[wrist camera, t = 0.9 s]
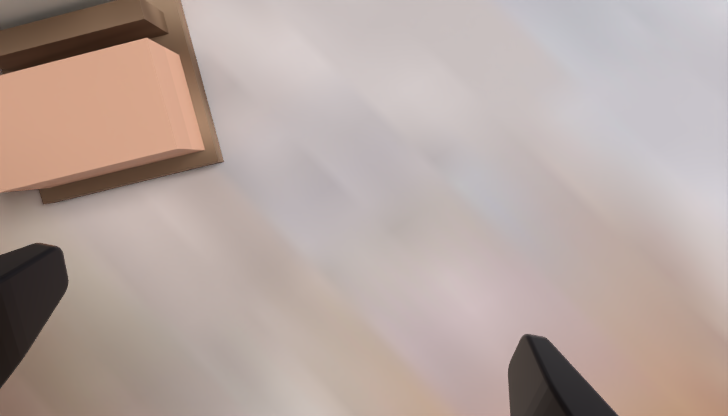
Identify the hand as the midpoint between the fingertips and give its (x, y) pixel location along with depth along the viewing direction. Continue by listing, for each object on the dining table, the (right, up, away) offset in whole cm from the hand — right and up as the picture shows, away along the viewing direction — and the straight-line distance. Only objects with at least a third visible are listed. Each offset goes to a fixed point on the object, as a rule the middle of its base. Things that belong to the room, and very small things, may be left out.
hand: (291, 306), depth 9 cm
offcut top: (-11, +6, +12) cm, 17 cm away
